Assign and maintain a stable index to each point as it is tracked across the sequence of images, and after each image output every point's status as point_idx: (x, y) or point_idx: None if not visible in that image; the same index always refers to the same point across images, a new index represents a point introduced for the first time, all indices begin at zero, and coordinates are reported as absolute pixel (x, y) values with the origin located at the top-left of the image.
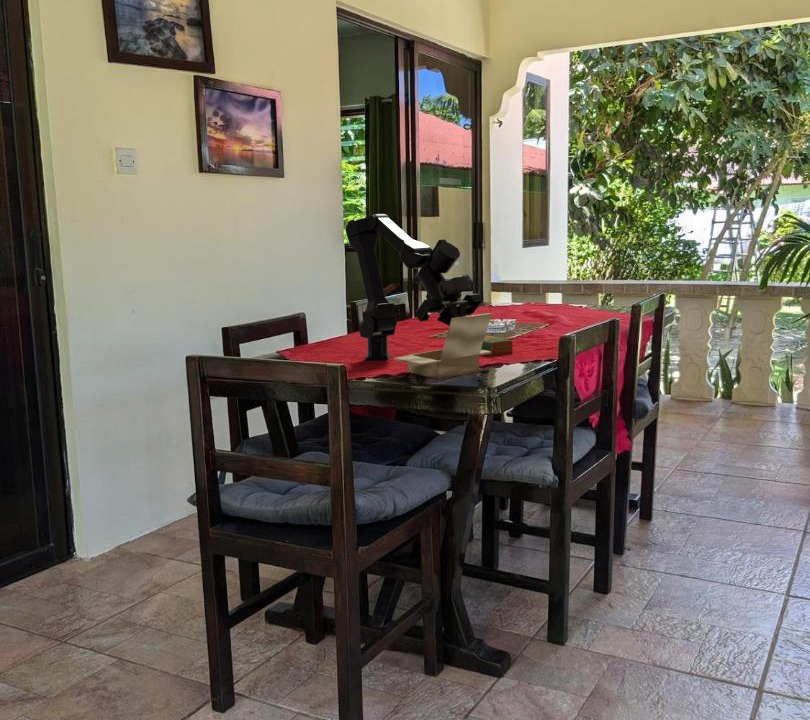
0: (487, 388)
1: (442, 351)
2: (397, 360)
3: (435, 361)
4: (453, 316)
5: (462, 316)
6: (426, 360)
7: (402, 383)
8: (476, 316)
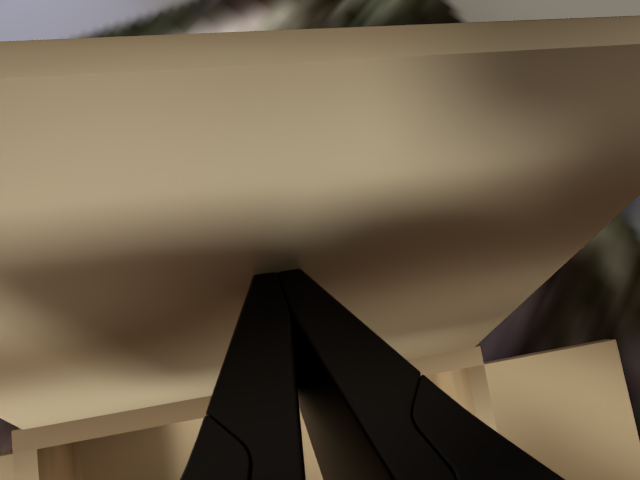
0: (337, 3)
1: (504, 318)
2: None
3: (498, 361)
4: (530, 471)
5: (266, 477)
6: (538, 429)
7: (637, 367)
8: (154, 51)
